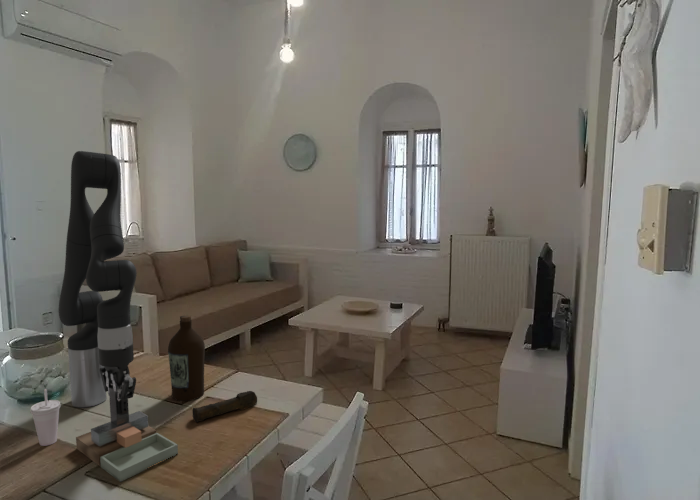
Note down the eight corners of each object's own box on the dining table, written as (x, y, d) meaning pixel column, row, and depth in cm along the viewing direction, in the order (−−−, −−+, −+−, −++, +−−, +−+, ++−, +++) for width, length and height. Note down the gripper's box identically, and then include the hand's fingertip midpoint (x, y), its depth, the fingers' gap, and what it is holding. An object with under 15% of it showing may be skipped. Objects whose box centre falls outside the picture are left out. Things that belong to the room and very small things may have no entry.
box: (100, 467, 109) (100, 456, 109) (157, 442, 120) (157, 432, 120) (120, 481, 104) (119, 471, 103) (177, 454, 115) (177, 444, 114)
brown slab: (76, 448, 117) (75, 437, 116) (132, 426, 128) (131, 416, 127) (99, 466, 109) (99, 454, 109) (156, 441, 120) (155, 430, 120)
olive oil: (185, 385, 155) (183, 310, 152) (213, 390, 151) (210, 313, 148) (162, 398, 145) (158, 318, 142) (190, 404, 141) (187, 322, 138)
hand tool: (196, 425, 129) (195, 409, 129) (191, 419, 132) (191, 403, 132) (260, 408, 140) (260, 393, 139) (255, 402, 143) (255, 388, 143)
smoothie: (41, 451, 115) (36, 396, 114) (27, 443, 119) (23, 390, 117) (68, 439, 121) (64, 387, 119) (55, 432, 124) (51, 381, 122)
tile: (116, 442, 114) (116, 432, 114) (133, 435, 117) (132, 426, 117) (125, 447, 112) (124, 437, 111) (141, 441, 115) (141, 431, 114)
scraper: (91, 440, 113) (88, 392, 112) (139, 421, 123) (137, 377, 121) (99, 446, 111) (96, 397, 109) (148, 426, 120) (146, 381, 119)
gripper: (85, 341, 115) (90, 409, 117) (114, 353, 107) (118, 426, 109) (116, 334, 121) (120, 398, 123) (146, 345, 113) (149, 414, 115)
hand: (119, 411), depth 116 cm, fingers closed on scraper, 3 cm apart
